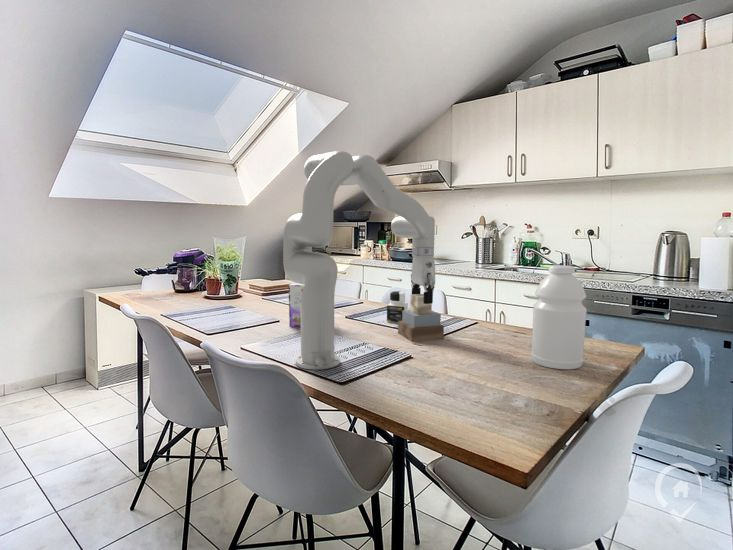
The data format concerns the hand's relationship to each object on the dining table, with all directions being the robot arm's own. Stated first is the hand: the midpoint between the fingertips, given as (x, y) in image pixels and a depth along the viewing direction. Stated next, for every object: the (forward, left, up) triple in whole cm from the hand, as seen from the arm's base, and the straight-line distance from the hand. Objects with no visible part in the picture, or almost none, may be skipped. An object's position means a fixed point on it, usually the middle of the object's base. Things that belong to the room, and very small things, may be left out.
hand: (421, 301), depth 155 cm
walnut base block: (+1, 0, -13) cm, 13 cm away
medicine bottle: (+25, -1, -13) cm, 28 cm away
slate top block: (+1, 0, -8) cm, 8 cm away
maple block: (+1, 0, -4) cm, 4 cm away
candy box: (+28, +35, -13) cm, 47 cm away
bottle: (-38, -25, -13) cm, 47 cm away
